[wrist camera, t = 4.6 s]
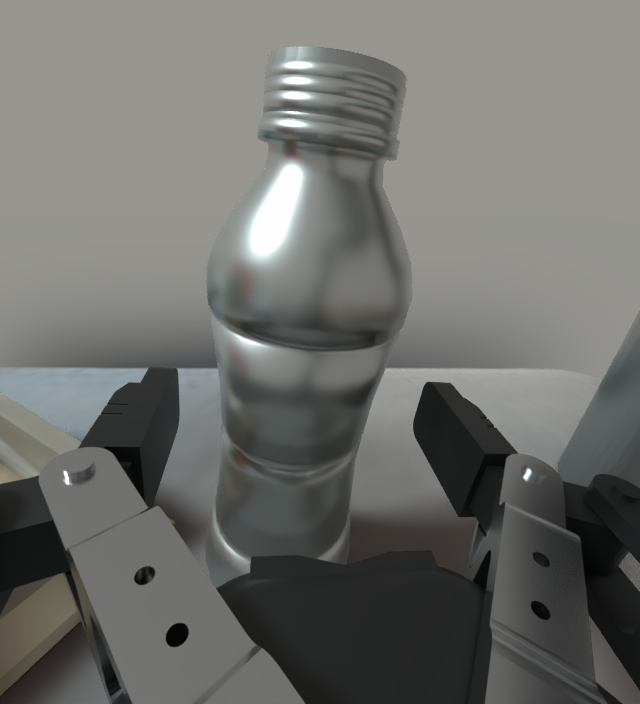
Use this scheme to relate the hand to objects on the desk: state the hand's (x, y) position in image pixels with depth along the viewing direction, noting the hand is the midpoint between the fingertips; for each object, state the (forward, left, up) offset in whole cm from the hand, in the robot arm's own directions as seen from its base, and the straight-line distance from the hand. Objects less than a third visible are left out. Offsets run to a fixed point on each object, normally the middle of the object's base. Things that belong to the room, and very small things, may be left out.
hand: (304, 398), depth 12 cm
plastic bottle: (-1, -1, -11) cm, 11 cm away
